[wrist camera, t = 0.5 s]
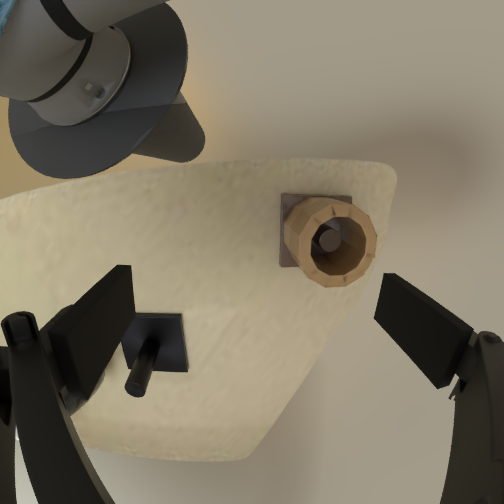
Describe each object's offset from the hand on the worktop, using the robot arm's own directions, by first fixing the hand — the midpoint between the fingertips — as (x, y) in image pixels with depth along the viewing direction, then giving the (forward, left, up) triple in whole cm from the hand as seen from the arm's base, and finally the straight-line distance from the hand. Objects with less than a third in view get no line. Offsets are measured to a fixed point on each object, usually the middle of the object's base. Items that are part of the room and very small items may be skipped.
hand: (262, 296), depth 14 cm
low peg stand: (+1, +8, -19) cm, 21 cm away
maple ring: (+1, +8, -18) cm, 20 cm away
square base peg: (+16, -13, -19) cm, 28 cm away
